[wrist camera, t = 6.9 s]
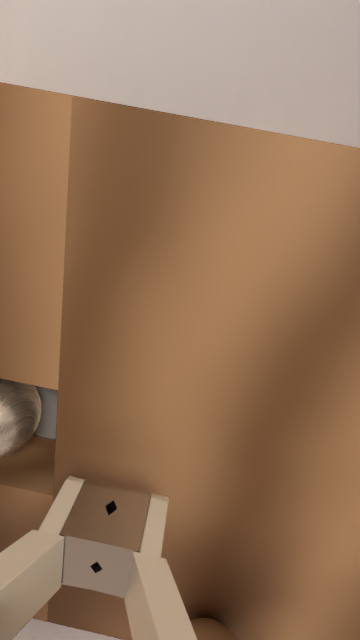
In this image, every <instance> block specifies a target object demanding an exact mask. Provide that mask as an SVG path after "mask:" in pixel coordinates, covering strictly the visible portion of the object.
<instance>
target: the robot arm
mask: <svg viewBox="0 0 360 640" xmlns="http://www.w3.org/2000/svg"><path fill="white" fill-rule="evenodd" d="M150 498H151V499H150ZM168 502H169V499H168V497H166V496H161V495H156V494H152V495H151V493H148V492H143V491H138V490H133V489H128V488H123V487H115V486H111V485H107V484H103V483H99V482H95V481H91V480H86V479H82V478H77V477H73V476H69V477H68V478H67V479H66V480H65V482H64V484H63V486H62V487H61V489H60V491H59V493H58V495H57V496H56V498H55V500H54V502H53V504H52V506H51V507H50V509H49V511H48V513H47V515H46V517H45V518H44V520H43V522H42V524H41V526H40V528H39V529H38V530H33V529H32V530H31V531H30V532H28V533H27V534H25V535H24V536H23V537H21V538H20V539H19V540H17V541H16V542H14V543H13V544H12V545H10V546H9V547H7V548H6V549H5V550H3V551H2V552H1V553H0V640H12V639H13V638H14V636H15V635H16V634H17V633H18V632H19V631H20V630H21V629H22V628H23V627H24V626H25V625H26V624H27V623H28V622H29V620H30V619H31V618H32V617H33V616H34V615H35V614H36V613H37V612H38V611H39V610H40V609H41V608H42V607H43V606H44V605H45V603H46V602H47V601H48V600H49V599H50V598H51V597H52V596H53V595H54V594H55V593H56V592H57V591H58V590H59V589H60V588H61V584H63V585H68V586H74V587H79V588H84V589H90V590H95V591H98V592H102V593H106V594H110V595H114V596H118V597H122V598H125V600H124V601H125V605H126V610H127V615H128V620H129V625H130V630H131V635H132V640H197V637H196V635H195V632H194V630H193V627H192V624H191V622H190V619H189V617H188V614H187V611H186V609H185V606H184V604H183V601H182V598H181V596H180V593H179V591H178V588H177V585H176V583H175V580H174V578H173V575H172V572H171V570H170V567H169V565H168V562H167V559H165V558H162V557H161V553H162V545H163V538H164V531H165V524H166V516H167V509H168Z"/></svg>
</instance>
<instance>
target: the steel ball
mask: <svg viewBox="0 0 360 640" xmlns="http://www.w3.org/2000/svg"><path fill="white" fill-rule="evenodd" d="M41 410H42V405H41V399H40V396H39V393H38V391H37V389H36V388H35V386H34V385H30V384H25V383H20V382H16V381H11V380H6V379H2V378H0V458H3V457H6V456H8V455H10V454H12V453H14V452H15V451H17V450H18V449H19V448H21V447H22V446H23V445H24V444H25V443H26V442H27V441H28V440H29V439H30V438H31V437H32V435H33V434H34V432H35V430H36V429H37V427H38V424H39V421H40V418H41Z"/></svg>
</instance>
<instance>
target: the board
mask: <svg viewBox="0 0 360 640" xmlns="http://www.w3.org/2000/svg"><path fill="white" fill-rule="evenodd" d="M0 378H2V379H6V380H11V381H16V382H20V383H25V384H30V385H35V386H39V387H44V388H49V389H53V390H58V402H57V423H56V440H52V439H47V438H43V437H38V436H33V435H32V437H31V438H30V439H29V440H28V441H27V442H26V443H25V444H24V445H23V446H22V447H21V448H19V449H18V450H17V451H15V452H14V453H12V454H10V455H8V456H6V457H3V458H0V553H1V552H2V551H3V550H5V549H6V548H7V547H9V546H10V545H12V544H13V543H14V542H16V541H17V540H19V539H20V538H21V537H23V536H24V535H25V534H27V533H28V532H30V531H31V530H32V529H33V530H38V529H39V528H40V526H41V524H42V522H43V520H44V518H45V517H46V515H47V513H48V511H49V509H50V507H51V506H52V504H53V502H54V500H55V498H56V496H57V495H58V493H59V491H60V489H61V487H62V486H63V484H64V482H65V480H66V479H67V478H68V477H69V476H73V477H77V478H82V479H86V480H91V481H95V482H99V483H103V484H107V485H111V486H115V487H123V488H128V489H133V490H138V491H143V492H148V493H151V495H152V494H156V495H161V496H166V497H168V499H169V502H168V509H167V516H166V524H165V531H164V538H163V545H162V553H161V557H162V558H165V559H167V562H168V565H169V567H170V570H171V572H172V575H173V578H174V580H175V583H176V585H177V588H178V591H179V593H180V596H181V598H182V601H183V604H184V606H185V609H186V611H187V614H188V617H189V619H190V621H191V620H194V619H197V618H211V619H214V620H217V621H219V622H220V623H222V624H223V625H225V626H226V627H227V628H228V629H229V630H230V631H231V632H232V633H233V635H234V636H235V637H236V639H237V640H360V148H356V147H351V146H345V145H340V144H334V143H329V142H323V141H318V140H312V139H307V138H302V137H296V136H291V135H285V134H280V133H274V132H269V131H263V130H258V129H252V128H247V127H241V126H236V125H231V124H225V123H220V122H214V121H209V120H203V119H198V118H192V117H187V116H181V115H176V114H170V113H165V112H160V111H154V110H149V109H143V108H138V107H132V106H127V105H121V104H116V103H110V102H105V101H99V100H94V99H89V98H83V97H78V96H72V95H67V94H61V93H56V92H50V91H45V90H39V89H34V88H28V87H23V86H18V85H12V84H7V83H1V82H0ZM150 499H151V498H150ZM124 600H125V598H122V597H118V596H114V595H110V594H106V593H102V592H98V591H95V590H90V589H84V588H79V587H74V586H68V585H63V584H61V588H60V589H59V590H58V591H57V592H56V593H55V594H54V595H53V596H52V597H51V598H50V599H49V600H48V601H47V602H46V603H45V605H44V606H43V607H42V608H41V609H40V610H39V611H38V612H37V613H36V614H35V615H34V616H33V617H32V618H34V619H39V620H43V621H47V622H51V623H56V624H60V625H64V626H68V627H73V628H77V629H81V630H85V631H90V632H94V633H98V634H102V635H107V636H111V637H115V638H119V639H124V640H132V635H131V630H130V625H129V620H128V615H127V610H126V605H125V601H124Z"/></svg>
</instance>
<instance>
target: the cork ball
mask: <svg viewBox="0 0 360 640" xmlns="http://www.w3.org/2000/svg"><path fill="white" fill-rule="evenodd" d="M190 622H191V624H192V627H193V630H194V632H195V635H196V637H197V640H237V639H236V637H235V636H234V635H233V633H232V632H231V631H230V630H229V629H228V628H227V627H226V626H225V625H223V624H222V623H220V622H219V621H217V620H214V619H211V618H197V619H194V620H191V621H190Z"/></svg>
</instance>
